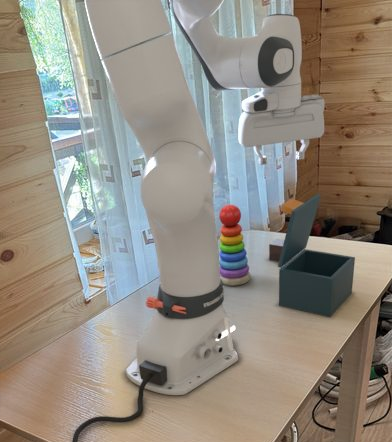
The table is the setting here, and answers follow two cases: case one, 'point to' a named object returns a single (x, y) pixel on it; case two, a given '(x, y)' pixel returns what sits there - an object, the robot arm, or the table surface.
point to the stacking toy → (232, 248)
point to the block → (275, 249)
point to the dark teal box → (316, 282)
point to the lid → (298, 227)
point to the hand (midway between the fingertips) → (281, 161)
